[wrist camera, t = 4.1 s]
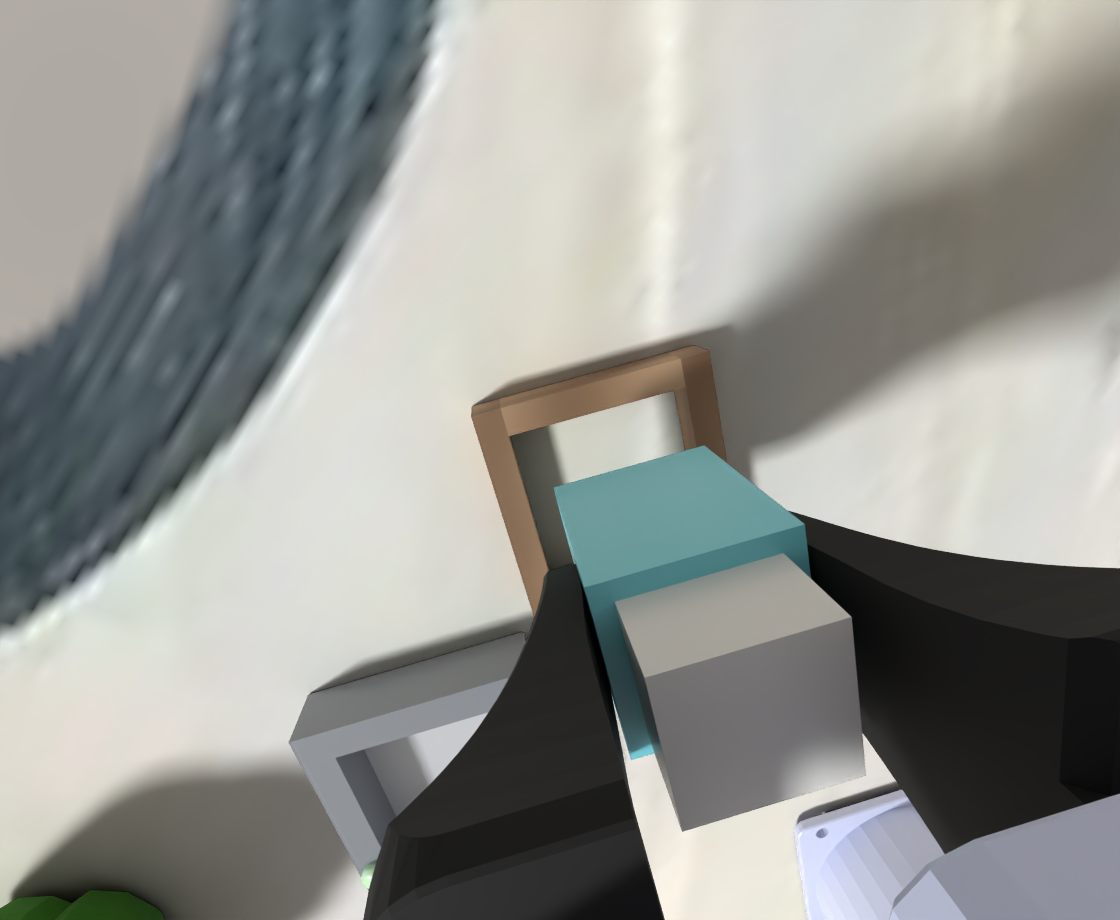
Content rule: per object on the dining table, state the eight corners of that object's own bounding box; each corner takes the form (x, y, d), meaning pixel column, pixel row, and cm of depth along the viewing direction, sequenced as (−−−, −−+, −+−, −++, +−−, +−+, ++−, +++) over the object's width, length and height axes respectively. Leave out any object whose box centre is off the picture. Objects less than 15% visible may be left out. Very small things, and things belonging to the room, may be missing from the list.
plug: (704, 445, 13) (879, 582, 7) (727, 578, 14) (893, 787, 8) (553, 487, 13) (607, 661, 7) (588, 617, 14) (660, 859, 8)
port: (523, 631, 19) (528, 679, 17) (574, 788, 21) (584, 847, 19) (308, 694, 19) (285, 750, 16) (385, 846, 21) (373, 912, 19)
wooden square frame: (693, 345, 17) (709, 350, 15) (726, 542, 19) (742, 559, 18) (472, 406, 16) (471, 416, 15) (531, 598, 18) (535, 620, 17)
